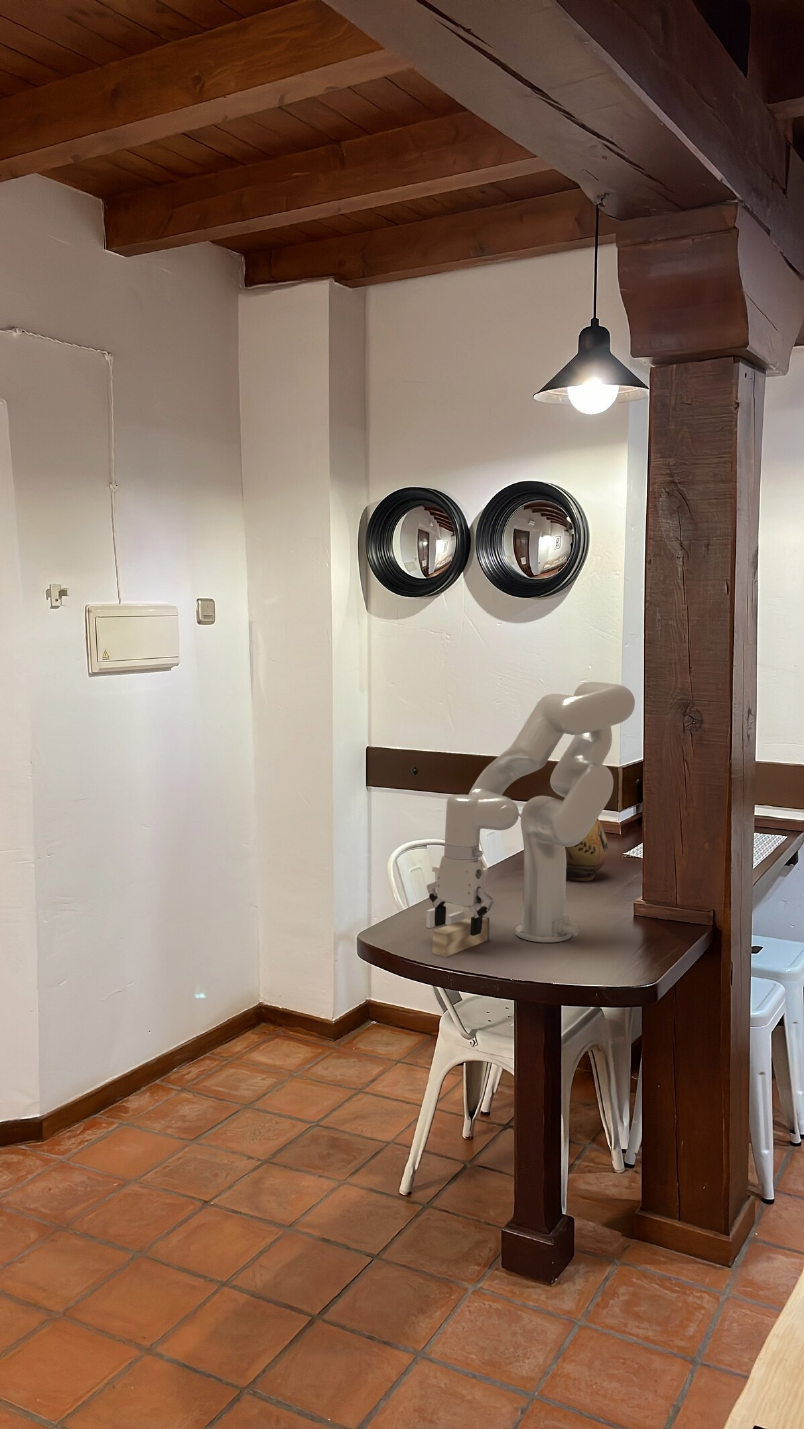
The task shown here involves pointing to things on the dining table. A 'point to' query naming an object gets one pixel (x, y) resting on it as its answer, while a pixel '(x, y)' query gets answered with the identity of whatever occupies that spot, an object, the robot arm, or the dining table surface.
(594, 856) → the ceramic jug
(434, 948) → the wooden block
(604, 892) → the dining table surface
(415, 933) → the dining table surface
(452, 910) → the white upright pillar
